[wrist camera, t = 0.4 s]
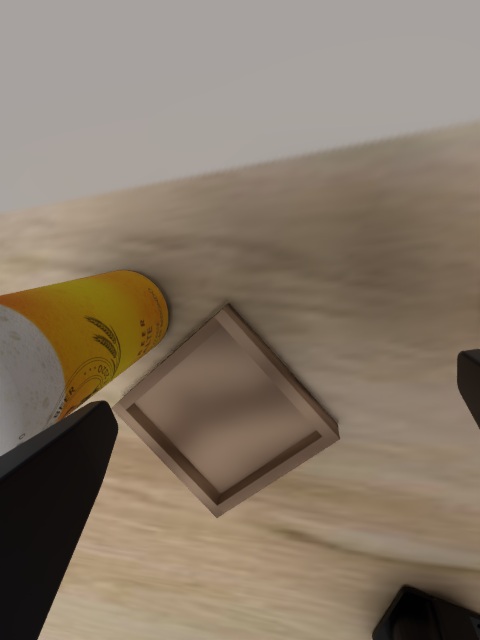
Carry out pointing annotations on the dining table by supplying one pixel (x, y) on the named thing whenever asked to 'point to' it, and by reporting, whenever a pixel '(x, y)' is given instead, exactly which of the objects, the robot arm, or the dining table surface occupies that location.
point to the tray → (226, 414)
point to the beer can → (71, 346)
